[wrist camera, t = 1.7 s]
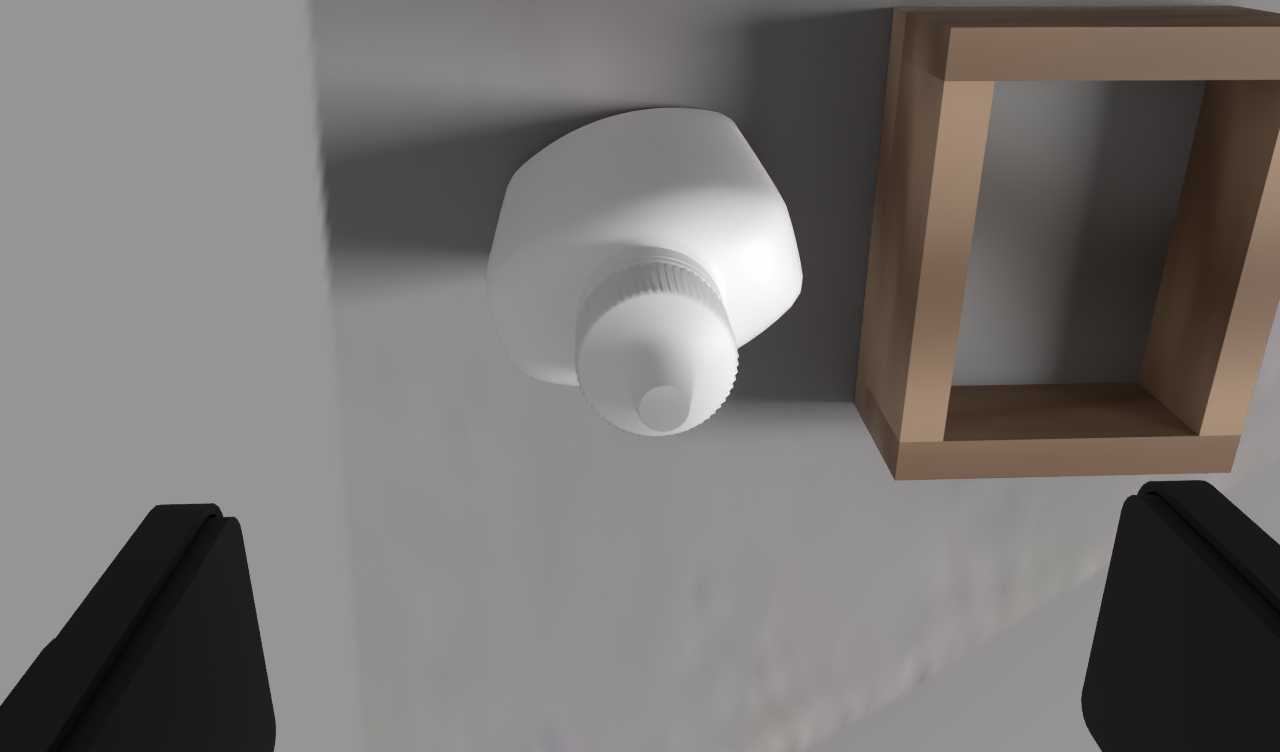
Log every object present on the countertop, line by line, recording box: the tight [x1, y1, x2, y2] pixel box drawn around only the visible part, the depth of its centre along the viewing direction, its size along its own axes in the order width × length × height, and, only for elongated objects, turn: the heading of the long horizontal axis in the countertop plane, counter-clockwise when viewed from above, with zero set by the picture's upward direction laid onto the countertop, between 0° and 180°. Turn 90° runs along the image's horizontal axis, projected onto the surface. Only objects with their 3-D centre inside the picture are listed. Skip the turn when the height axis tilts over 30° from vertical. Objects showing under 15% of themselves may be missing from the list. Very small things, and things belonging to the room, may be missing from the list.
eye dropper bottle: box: [486, 108, 803, 437], centre depth 19 cm, size 4×6×12 cm
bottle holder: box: [854, 7, 1280, 480], centre depth 24 cm, size 10×8×4 cm
